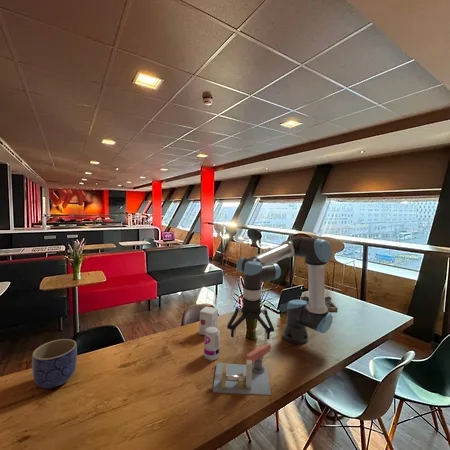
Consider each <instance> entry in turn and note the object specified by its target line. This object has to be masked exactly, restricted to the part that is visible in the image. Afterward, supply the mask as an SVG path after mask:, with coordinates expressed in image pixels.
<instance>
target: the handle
mask: <svg viewBox="0 0 450 450" xmlns="http://www.w3.org/2000/svg"><path fill="white" fill-rule="evenodd" d="M271 349H272V345H271V344H270V343H268V342H267V348H265V346H264V343H263V344H262V345H260V346H259V347H257V348H255V349H253V350H252V351H250V352H247V354H246V356H245V363H246V362H247V360H252V364H254V362H255V361H256V360H259V361H260V360H262V361H263V359H264V356H266V355H267V354H269V353H270V352H271Z"/></svg>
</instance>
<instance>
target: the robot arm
mask: <svg viewBox="0 0 450 450" xmlns="http://www.w3.org/2000/svg"><path fill="white" fill-rule="evenodd" d="M332 250H333V249H332V245H331V244H330V242H329V241H328V240H326V239H323V238H316V237H315V238H314V237H306V236H297V237H293V238H290V239H287V240H284V241H282V242H281V243H280V244H279V245H277V246H275V247H273V248H269V249H268V250H265V251H263V252H260V253H258V254H256V255H253V256H250V257H248V258H247V257H240V258H239V259H237V262H236V269H237V271H238V272H240V273H242V274H243V289H242V291H243V295H242V307H239V306H235V309H234V312H233V314H232V316H231V317H230V319H229V321H228V323H227V326H226V328H227V329H228V330H230V337H231V338H232V339H233V341H232V342H233V343H232V344H233V346H234V347H235V346H236V331H237V328H238V326H239V325H241V323H242V322H243V321H245V320H246V319H247V320H254V321H255V320H257V321H258V322H259V324H261V327H262V328H264V340H263V341H264V342H263V344H264V346H265V348H267V343H268V340H270V339H271V338H270V336H271V335H270V334H271V332H273V333H274V332H275V327H274V325H273V323H272V321H271V319H270V316H269V314H268V310H267V309H268V308H263V309H261V297H262V296H261V293H262V283H265V282H269V281H275V280H278V279H279V278H280V276H281V274H282V269H281V267H280V266H279V264H278V263H277V262H279V261H281V260H284V259H286V258H292V257H298V258H304V263H305V265H306V266H307V278H308V284H307V285H308V295H309V304H307V302H306V301H304V300H299V299H292V300H289V301H288V302H287V307H286V324H285V326H284V329H283V332H282V336H283V338H284V339H285V340H286V341H288V342H290V343H293V344H299V345H302V344H306V343H307V342H309V334H308V330H307V329H311V330H313V331H316V332H318V333H320V334H326V333H327V332H328V331H330V328H331V326H332V324H333V315H332V313H330V312H329V311H328V308H327V307H328V306H325V296H326V292H325V291H326V290H325V284H326V282H325V266H326V265H327V264H328V262H330V260H331V259H332V258H331V256H332V254H333V253H332V252H333V251H332ZM240 312H241V315H240V317H239V318H238V319H237V320H236V318H237V317H238V314H240ZM261 313H262V315H264V317H265V319H266V322H267V323H266V322H265V321H264V320H263V318H262V317H261ZM267 324H268V325H267Z"/></svg>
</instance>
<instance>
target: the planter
mask: <svg viewBox="0 0 450 450" xmlns="http://www.w3.org/2000/svg"><path fill="white" fill-rule="evenodd" d="M77 345H78V344H77V342H76V341H75V340H73V339H71V338H61V339H60V338H59V339H55V340H50V341H49V342H48V341H47V342H46V343H43V344H41V345H40V346H38V347H37V348H35V350H33V352H32V353H31V354H32V355H31V367H32V371H31V372H32V377H33V381H34V383H35V385H37V387H39V388H42V389H52V388H56V387H58V386H61V385H64V384H65V383H67V381H69V380H70V379H71V378H72V377H73V375H74V373H75V372H76V369H77V361H78V346H77Z"/></svg>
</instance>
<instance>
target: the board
mask: <svg viewBox="0 0 450 450" xmlns="http://www.w3.org/2000/svg"><path fill="white" fill-rule="evenodd" d="M223 364H226V375H239V373H243V376H246V364H239V363H238V364H237V363H224V362H216V367H215V371H214V372H215V373H214V375H215V374H222V368H223ZM262 364H263V359H262V360H260V361H259V360H256V361H255V362H253V364H252V386H251V389H250V388H246V382H243V390H238V382H234V381H226V385H225V390H223V389H222V381H220V380H214V379H213V387H212V393H222V394H236V395H237V394H239V395H252V396H253V395H254V396H256V395H257V396H270V395H271V396H272V392H271V391H272V390H271V387H270V386H271V385H270V378H269V374H268V367H267V365H262Z"/></svg>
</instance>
